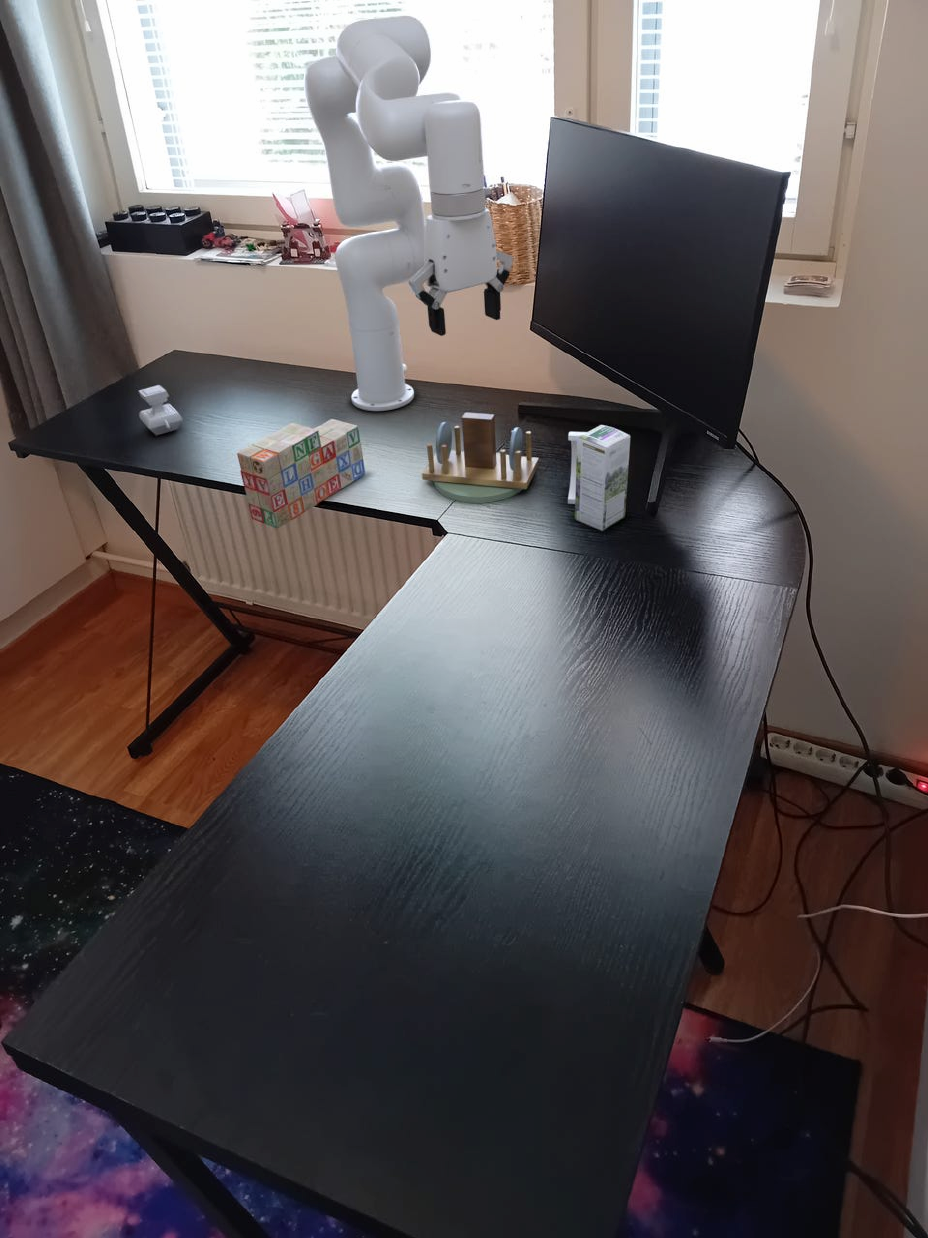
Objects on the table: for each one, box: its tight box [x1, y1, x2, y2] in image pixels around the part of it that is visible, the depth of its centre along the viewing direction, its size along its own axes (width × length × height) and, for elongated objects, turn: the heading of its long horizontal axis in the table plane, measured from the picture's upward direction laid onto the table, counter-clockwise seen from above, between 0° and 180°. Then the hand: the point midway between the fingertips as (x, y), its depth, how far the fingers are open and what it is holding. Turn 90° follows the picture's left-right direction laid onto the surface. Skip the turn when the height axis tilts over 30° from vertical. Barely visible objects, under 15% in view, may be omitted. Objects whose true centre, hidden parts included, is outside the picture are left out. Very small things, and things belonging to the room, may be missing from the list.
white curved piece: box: [567, 431, 588, 505], centre depth 150 cm, size 5×6×12 cm
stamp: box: [138, 384, 183, 436], centre depth 182 cm, size 9×7×8 cm
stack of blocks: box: [236, 418, 366, 529], centre depth 155 cm, size 21×6×12 cm, turn 143°
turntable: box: [434, 452, 524, 504], centre depth 160 cm, size 16×16×1 cm
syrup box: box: [574, 424, 631, 532], centre depth 143 cm, size 6×6×14 cm
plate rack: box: [421, 411, 540, 490], centre depth 156 cm, size 18×9×10 cm, turn 73°
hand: (465, 325), depth 140 cm, fingers open, 9 cm apart
